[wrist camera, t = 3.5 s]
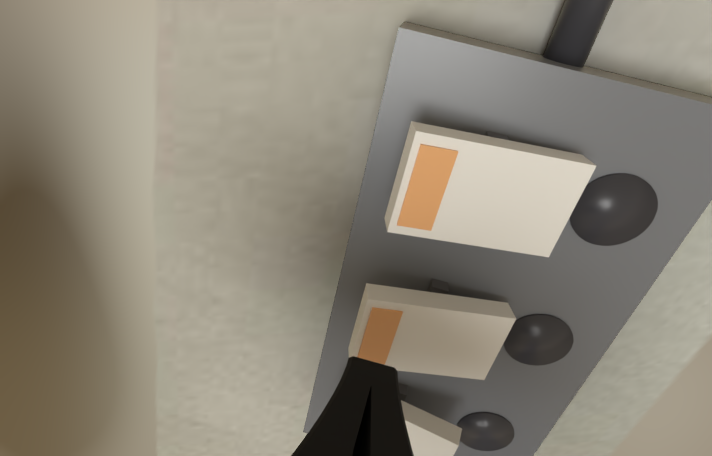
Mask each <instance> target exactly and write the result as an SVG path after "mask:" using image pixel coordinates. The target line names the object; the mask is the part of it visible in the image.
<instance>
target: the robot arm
mask: <svg viewBox="0 0 712 456" xmlns="http://www.w3.org/2000/svg"><path fill="white" fill-rule="evenodd" d="M291 456H414V455H413V451H412V447H411V444H410V439H409V435H408V431H407V427H406V423H405V419H404V414H403V409H402V403H401V398H400V391H399V384H398V372H397V370H396V369H395V368H394V367H391V366H387V365H383V364H380V363H376V362H373V361H369V360H365V359H362V358H358V357H355V356H352V357H350V358H348V362H347V365H346V368H345V370H344V373H343V375H342V377H341V380H340V382H339V384H338V386H337V387H336V389H335V391H334V393H333V395H332V397H331V398H330V400H329V402H328V403H327V405H326V407H325V408H324V410H323V412H322V413H321V415H320V416H319V418H318V419H317V421H316V422H315V424H314V425H313V427H312V428H311V429H310V431H309V432H308V434H307V435H306V437H305V438H304V439H303V441H302V442H301V444H300V445H299V446H298V448H297V449H296V450H295V452H294V453H293V454H292V455H291Z"/></svg>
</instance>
